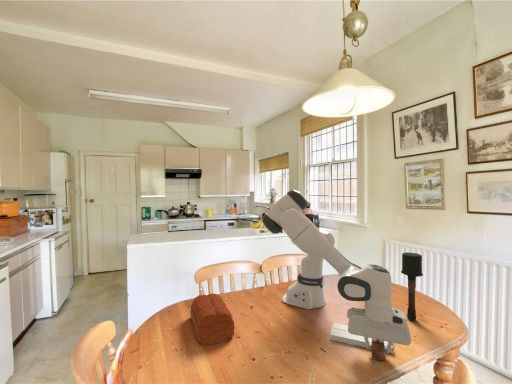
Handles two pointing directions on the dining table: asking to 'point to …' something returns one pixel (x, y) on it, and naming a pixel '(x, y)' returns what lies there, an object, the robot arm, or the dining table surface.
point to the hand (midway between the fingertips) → (377, 350)
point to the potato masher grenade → (411, 279)
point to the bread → (211, 319)
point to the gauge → (378, 349)
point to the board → (350, 337)
